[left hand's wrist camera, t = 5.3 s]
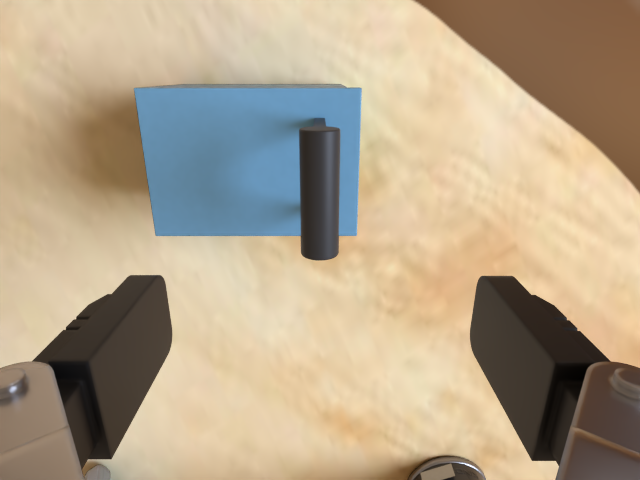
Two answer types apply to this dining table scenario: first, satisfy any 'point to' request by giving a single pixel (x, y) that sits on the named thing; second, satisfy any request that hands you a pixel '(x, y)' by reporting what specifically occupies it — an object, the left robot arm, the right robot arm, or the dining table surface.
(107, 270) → the dining table surface
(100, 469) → the digital clock
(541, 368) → the left robot arm
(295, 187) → the lid
